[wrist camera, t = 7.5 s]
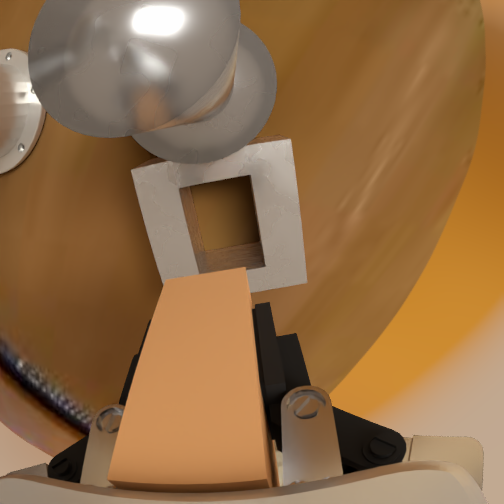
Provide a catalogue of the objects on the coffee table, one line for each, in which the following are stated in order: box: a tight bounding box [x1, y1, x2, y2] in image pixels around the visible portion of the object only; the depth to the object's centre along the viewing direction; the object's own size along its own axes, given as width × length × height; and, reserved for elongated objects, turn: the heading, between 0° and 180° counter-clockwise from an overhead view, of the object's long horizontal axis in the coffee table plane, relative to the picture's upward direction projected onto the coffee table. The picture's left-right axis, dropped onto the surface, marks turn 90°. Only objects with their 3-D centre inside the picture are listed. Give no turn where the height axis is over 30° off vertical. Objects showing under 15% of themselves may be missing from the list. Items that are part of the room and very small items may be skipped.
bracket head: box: [28, 0, 307, 293], centre depth 16 cm, size 11×20×20 cm, turn 9°
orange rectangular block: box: [107, 267, 280, 493], centre depth 9 cm, size 3×5×8 cm, turn 9°
